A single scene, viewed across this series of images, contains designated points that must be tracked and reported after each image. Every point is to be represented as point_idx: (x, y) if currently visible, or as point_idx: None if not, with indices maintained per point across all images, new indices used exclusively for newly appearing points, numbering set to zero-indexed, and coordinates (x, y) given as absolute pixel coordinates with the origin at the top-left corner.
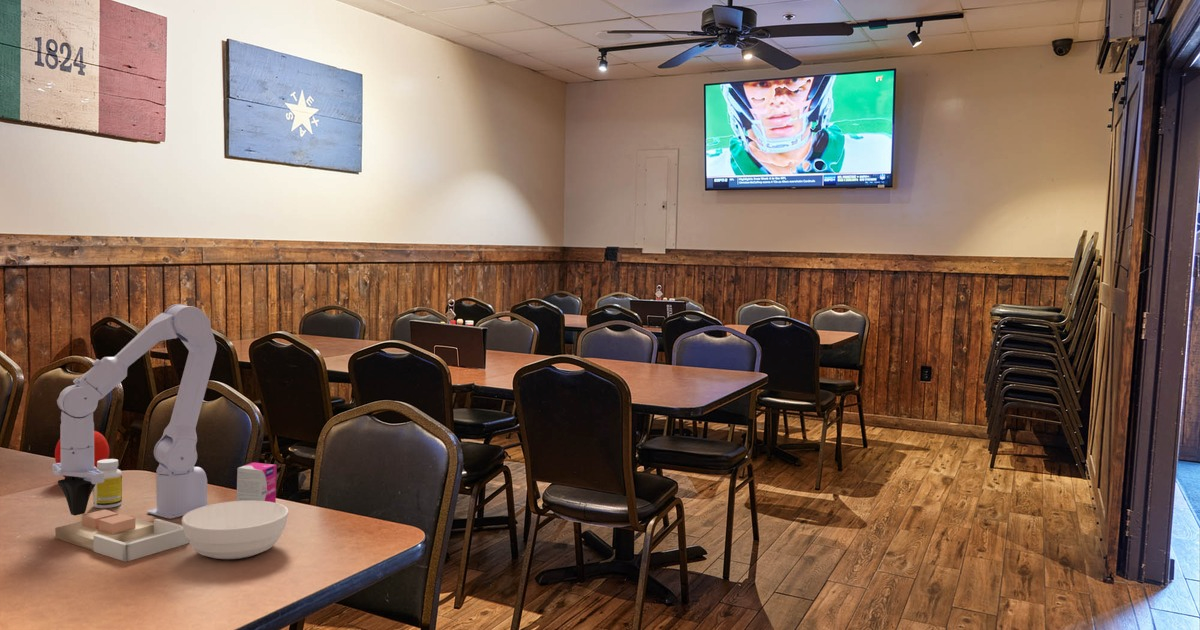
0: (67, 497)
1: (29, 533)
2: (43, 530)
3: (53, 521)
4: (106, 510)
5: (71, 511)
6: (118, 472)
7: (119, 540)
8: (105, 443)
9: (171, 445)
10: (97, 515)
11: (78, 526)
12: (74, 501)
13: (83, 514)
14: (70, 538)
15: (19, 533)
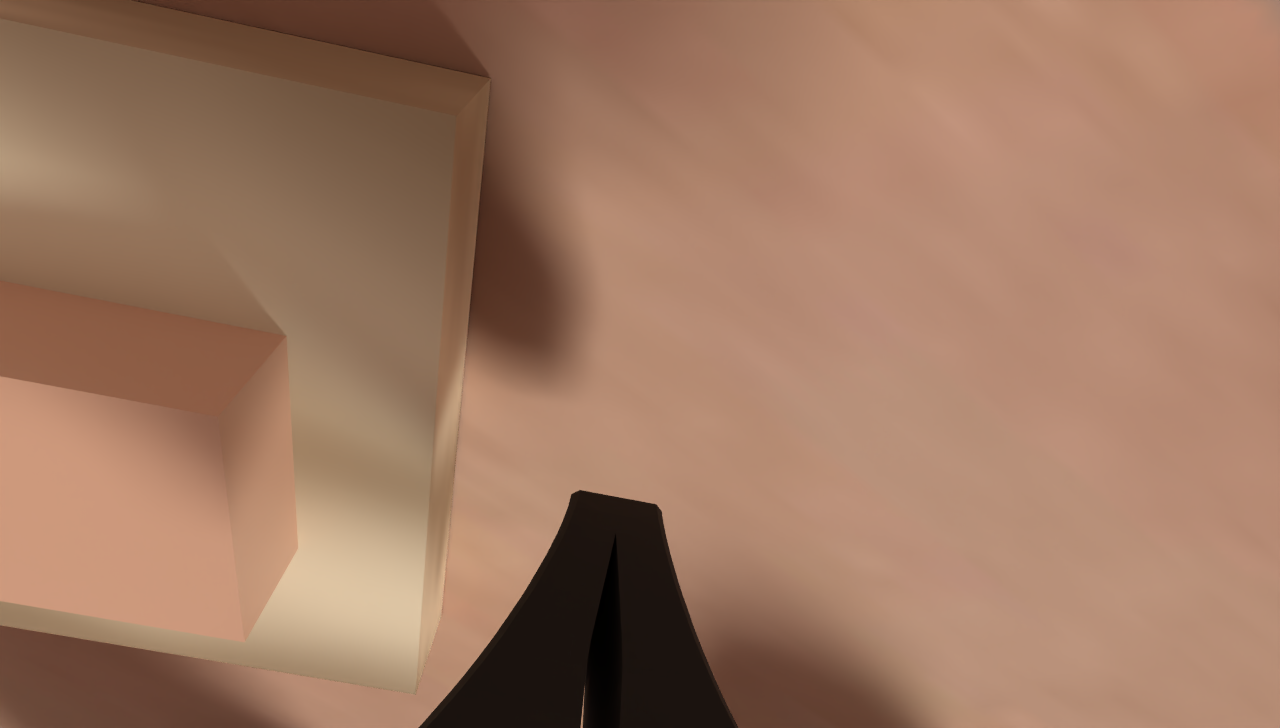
0: (660, 686)
1: (973, 98)
2: (893, 249)
3: (1024, 490)
4: (181, 621)
5: (623, 523)
6: None
7: None
8: None
9: None
10: (23, 463)
11: (253, 276)
12: (500, 632)
13: (217, 434)
14: (92, 9)
15: (1111, 45)
